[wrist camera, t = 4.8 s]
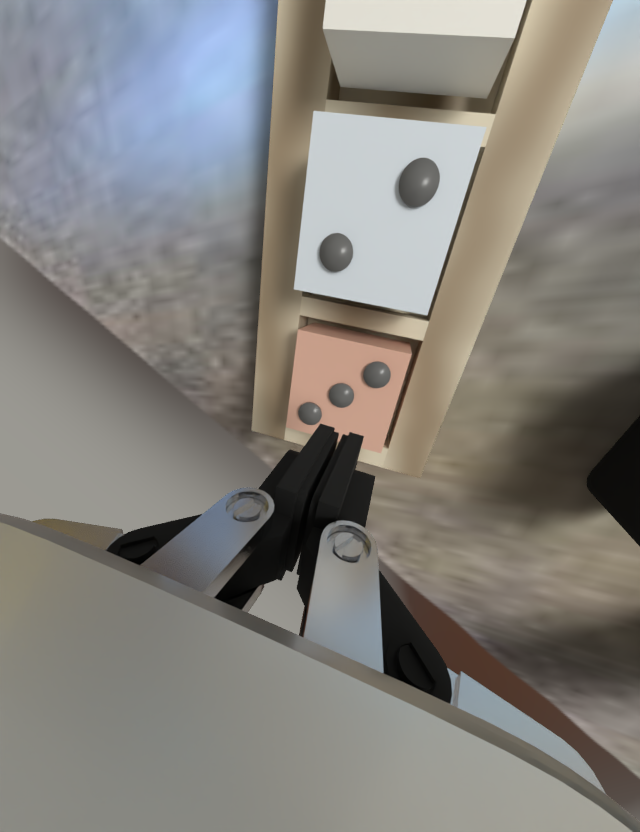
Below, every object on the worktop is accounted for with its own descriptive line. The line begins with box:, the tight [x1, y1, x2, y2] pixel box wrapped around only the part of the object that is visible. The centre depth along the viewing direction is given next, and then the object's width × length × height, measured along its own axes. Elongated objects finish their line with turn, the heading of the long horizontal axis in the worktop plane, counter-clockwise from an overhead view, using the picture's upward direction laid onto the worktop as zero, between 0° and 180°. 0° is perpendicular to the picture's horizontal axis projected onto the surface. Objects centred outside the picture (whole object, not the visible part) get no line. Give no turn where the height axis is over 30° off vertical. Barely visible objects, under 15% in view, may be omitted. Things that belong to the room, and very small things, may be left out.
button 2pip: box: [294, 111, 487, 315], centre depth 13 cm, size 6×6×3 cm
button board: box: [252, 0, 613, 478], centre depth 15 cm, size 12×26×3 cm, turn 170°
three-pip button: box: [286, 322, 412, 453], centre depth 17 cm, size 6×6×3 cm
